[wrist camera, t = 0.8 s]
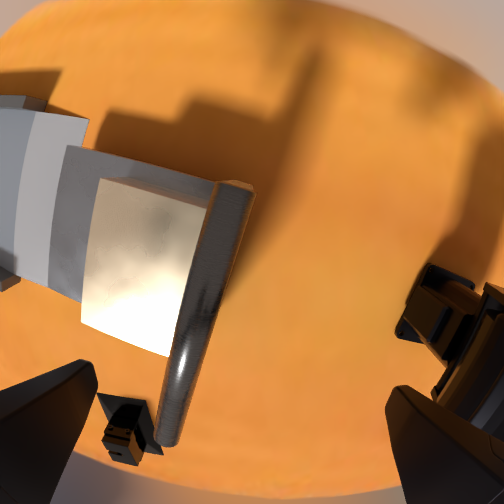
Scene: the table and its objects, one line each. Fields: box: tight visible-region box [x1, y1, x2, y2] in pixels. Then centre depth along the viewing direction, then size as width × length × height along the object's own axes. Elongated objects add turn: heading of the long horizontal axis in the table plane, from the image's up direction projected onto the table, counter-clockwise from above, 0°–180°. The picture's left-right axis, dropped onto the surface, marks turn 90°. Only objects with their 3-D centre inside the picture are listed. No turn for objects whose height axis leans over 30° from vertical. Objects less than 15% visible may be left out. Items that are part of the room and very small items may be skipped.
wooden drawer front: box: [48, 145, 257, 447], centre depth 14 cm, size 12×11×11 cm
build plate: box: [97, 393, 164, 466], centre depth 22 cm, size 12×7×5 cm, turn 0°
